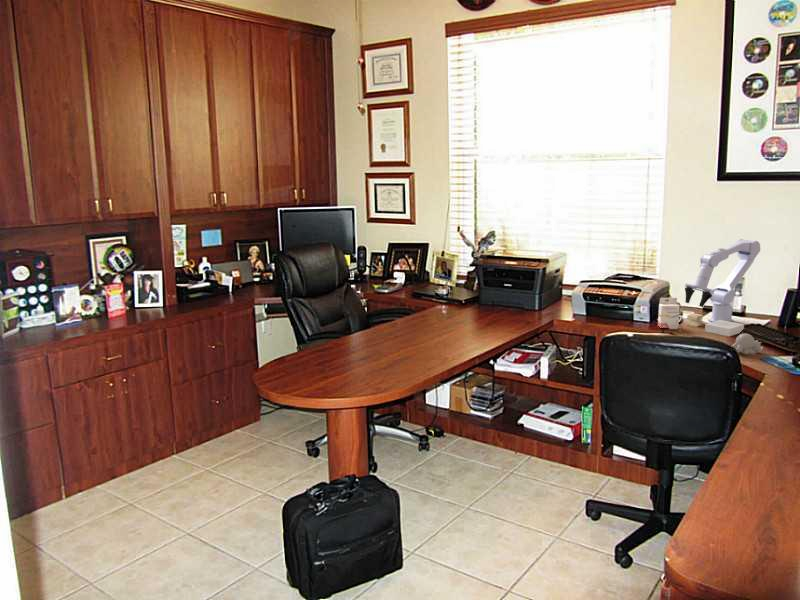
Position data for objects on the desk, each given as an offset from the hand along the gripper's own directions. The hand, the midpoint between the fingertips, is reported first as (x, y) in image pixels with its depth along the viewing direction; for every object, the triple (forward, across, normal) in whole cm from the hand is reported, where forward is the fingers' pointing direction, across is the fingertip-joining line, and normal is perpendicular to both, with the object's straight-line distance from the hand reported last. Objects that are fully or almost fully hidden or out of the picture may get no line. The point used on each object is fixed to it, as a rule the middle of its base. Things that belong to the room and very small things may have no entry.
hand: (693, 304), depth 325 cm
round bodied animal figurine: (+15, +42, -18) cm, 48 cm away
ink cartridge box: (+15, -4, -7) cm, 17 cm away
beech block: (+9, 0, +6) cm, 11 cm away
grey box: (+9, +16, +5) cm, 19 cm away
